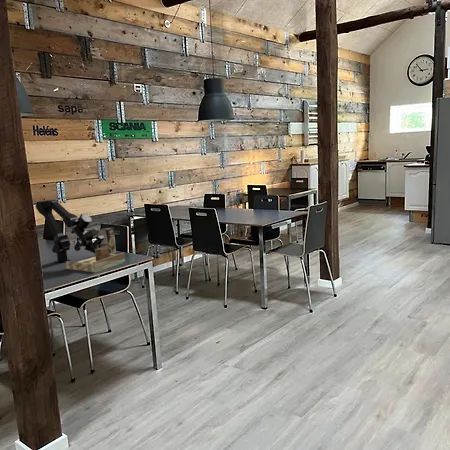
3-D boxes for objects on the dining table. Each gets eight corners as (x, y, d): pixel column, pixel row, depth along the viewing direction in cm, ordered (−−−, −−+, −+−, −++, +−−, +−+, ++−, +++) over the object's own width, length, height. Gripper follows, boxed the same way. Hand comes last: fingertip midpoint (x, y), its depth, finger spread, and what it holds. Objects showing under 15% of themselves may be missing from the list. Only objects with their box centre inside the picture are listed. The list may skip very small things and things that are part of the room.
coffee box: (110, 255, 279) (107, 230, 277) (100, 255, 281) (97, 230, 278) (116, 252, 288) (114, 227, 286) (107, 252, 290) (104, 227, 287)
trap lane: (66, 268, 253) (65, 259, 252) (97, 258, 273) (96, 250, 272) (95, 272, 242) (94, 262, 241) (125, 261, 261) (124, 252, 260)
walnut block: (96, 263, 254) (94, 249, 252) (102, 261, 258) (101, 247, 256) (102, 264, 251) (101, 249, 250) (109, 261, 255) (107, 248, 254)
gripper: (75, 227, 247) (91, 248, 243) (100, 221, 263) (116, 241, 259) (67, 240, 252) (83, 261, 248) (92, 234, 268) (107, 253, 264)
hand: (98, 253), depth 255 cm, fingers closed
